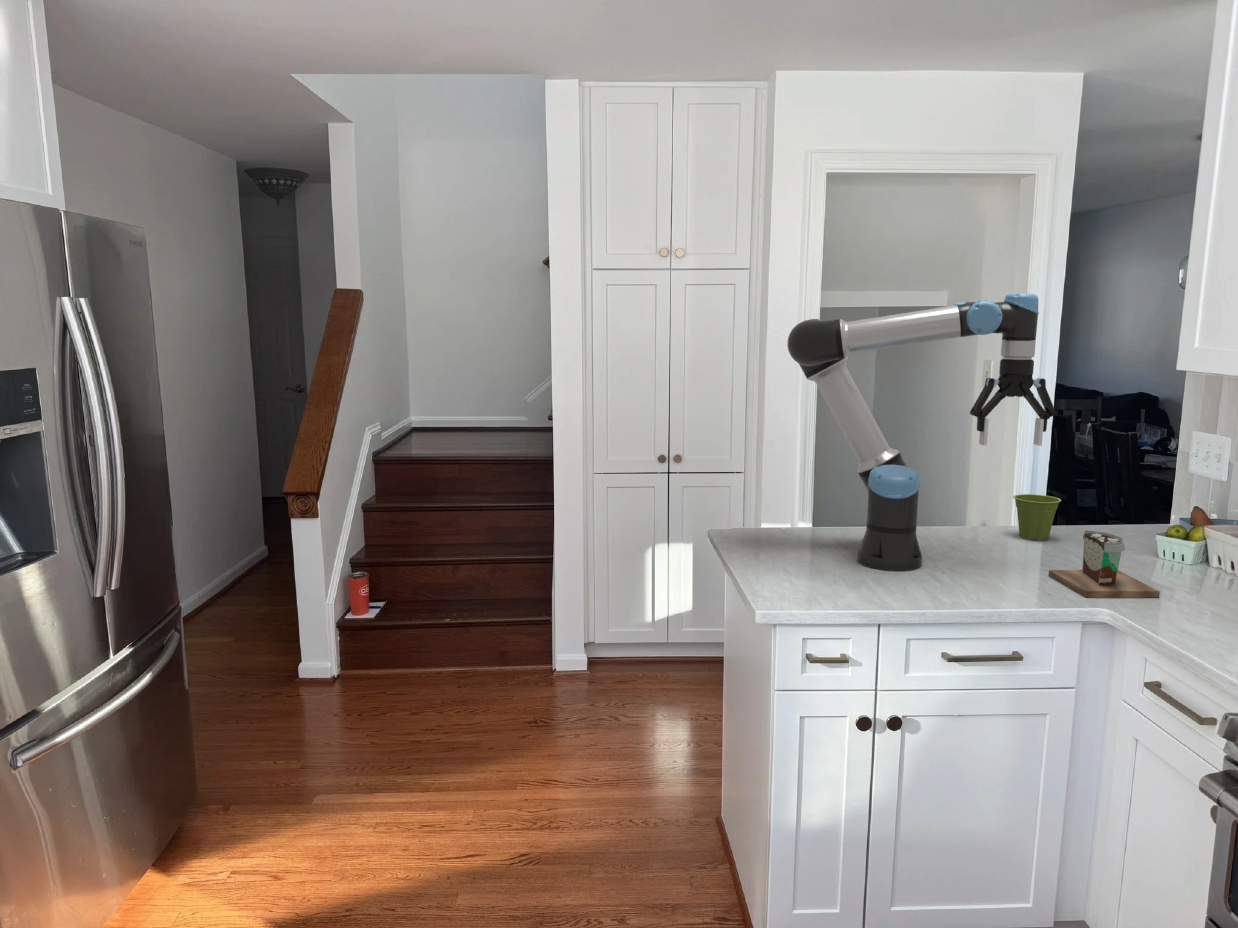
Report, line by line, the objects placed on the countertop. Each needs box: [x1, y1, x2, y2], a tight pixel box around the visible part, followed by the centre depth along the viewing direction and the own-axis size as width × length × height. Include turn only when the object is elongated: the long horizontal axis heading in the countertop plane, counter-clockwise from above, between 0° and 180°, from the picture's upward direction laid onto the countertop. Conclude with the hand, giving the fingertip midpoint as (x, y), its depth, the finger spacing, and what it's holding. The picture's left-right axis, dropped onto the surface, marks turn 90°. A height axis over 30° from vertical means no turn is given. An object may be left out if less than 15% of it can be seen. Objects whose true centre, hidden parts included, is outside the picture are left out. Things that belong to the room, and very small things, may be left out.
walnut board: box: [1048, 569, 1161, 599], centre depth 194 cm, size 16×16×2 cm
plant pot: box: [1012, 493, 1062, 541], centre depth 236 cm, size 12×12×11 cm
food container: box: [1081, 529, 1126, 586], centre depth 193 cm, size 12×6×10 cm, turn 172°
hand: (1010, 444), depth 213 cm, fingers open, 13 cm apart
